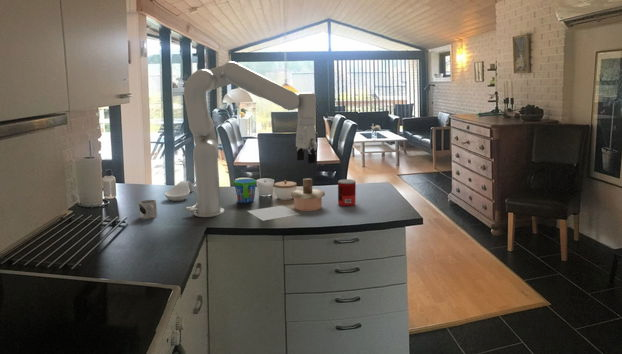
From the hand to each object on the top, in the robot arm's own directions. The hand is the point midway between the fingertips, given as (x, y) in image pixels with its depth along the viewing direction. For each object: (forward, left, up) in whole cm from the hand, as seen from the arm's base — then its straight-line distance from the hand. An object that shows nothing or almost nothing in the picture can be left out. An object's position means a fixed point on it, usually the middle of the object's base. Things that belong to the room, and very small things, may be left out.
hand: (305, 161), depth 188 cm
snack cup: (-18, +26, -21) cm, 38 cm away
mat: (-16, 0, -21) cm, 27 cm away
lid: (+1, 0, -15) cm, 15 cm away
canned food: (+19, -4, -21) cm, 28 cm away
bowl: (+1, 0, -21) cm, 21 cm away
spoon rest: (-42, +53, -21) cm, 71 cm away
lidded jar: (0, +20, -21) cm, 29 cm away
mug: (-62, +22, -21) cm, 69 cm away
